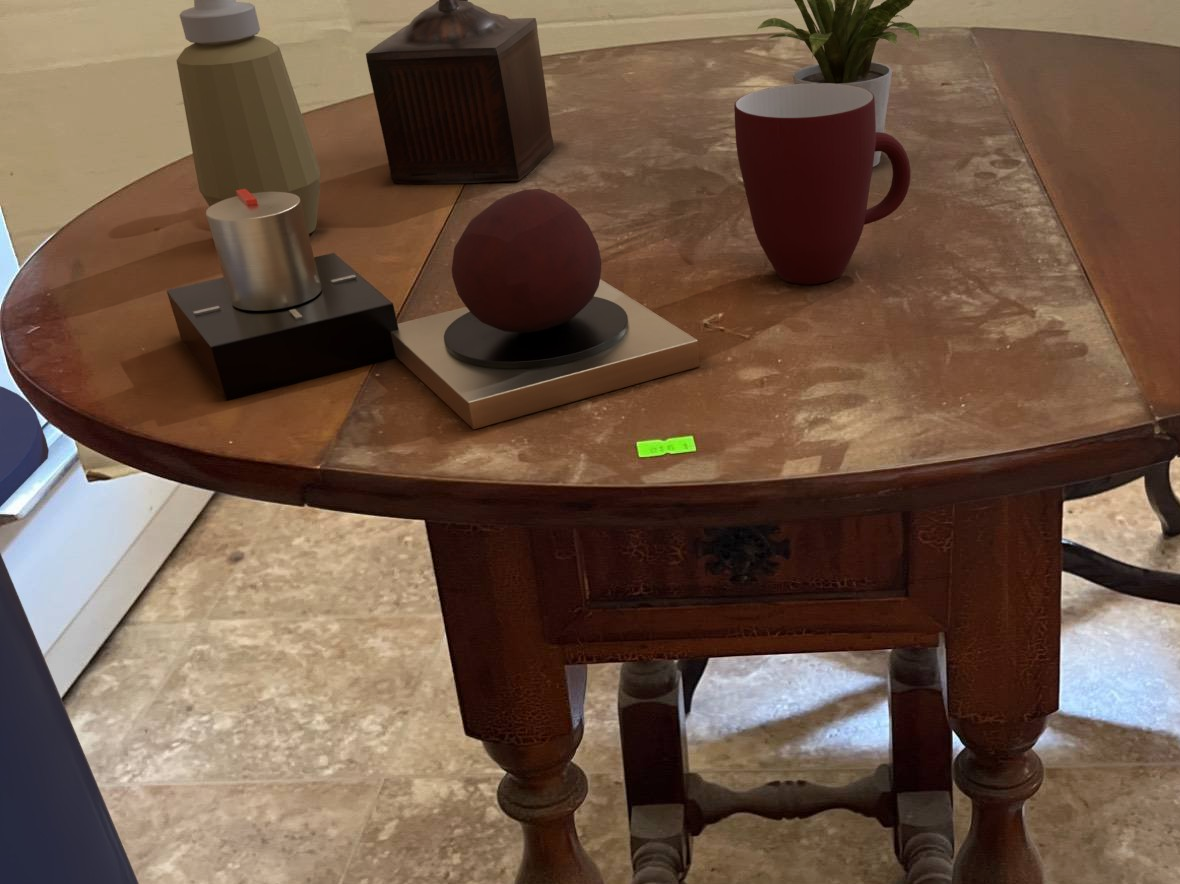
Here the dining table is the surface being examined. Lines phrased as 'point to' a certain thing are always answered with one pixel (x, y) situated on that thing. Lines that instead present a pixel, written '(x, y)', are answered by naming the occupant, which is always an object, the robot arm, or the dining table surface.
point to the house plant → (848, 46)
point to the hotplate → (541, 357)
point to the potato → (526, 263)
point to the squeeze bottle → (243, 109)
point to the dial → (264, 250)
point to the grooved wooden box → (461, 96)
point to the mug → (813, 174)
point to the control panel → (285, 331)
